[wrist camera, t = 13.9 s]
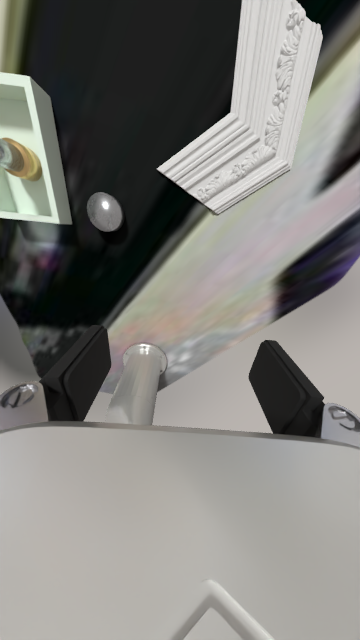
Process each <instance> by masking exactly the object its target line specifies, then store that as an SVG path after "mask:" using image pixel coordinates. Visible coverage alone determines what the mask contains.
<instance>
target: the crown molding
mask: <svg viewBox="0 0 360 640" xmlns="http://www.w3.org/2000/svg"><path fill="white" fill-rule="evenodd" d="M305 14H306V12H305V10H304V9H303V8H302V6H301V5H300V4H298V3H297V1H296V0H242V6H241V15H240V25H239V35H238V45H237V54H236V64H235V74H234V84H233V93H232V103H231V113H229V114H228V115H227V116H226V117H224V118H223V119H222V120H220V121H219V122H218V123H216V124H215V125H214V126H212V127H211V128H210V129H208V130H207V131H206V132H205V133H203V134H202V135H201V136H199V137H198V138H197V139H195V140H194V141H193V142H191V143H190V144H189V145H188V146H186V147H185V148H184V149H182V150H181V151H180V152H178V153H177V154H176V155H174V156H173V157H172V158H170V159H169V160H168V161H167V162H165V163H164V164H163V165H161V166H160V167H159V168H157V170H158V171H160V172H161V173H162V174H164V175H165V176H166V177H168V178H169V179H170V180H172V181H173V182H175V183H176V184H177V185H179V186H180V187H181V188H183V189H184V190H185V191H187V192H188V193H189V194H191V195H192V196H194V197H195V198H196V199H198V200H199V201H200V202H202V203H203V204H204V205H206V206H207V207H208V208H210V209H211V210H213V211H214V212H215V213H217V214H219V213H220V212H222V211H224V210H225V209H227V208H228V207H230V206H232V205H233V204H235V203H236V202H238V201H240V200H241V199H243V198H244V197H246V196H248V195H249V194H251V193H252V192H254V191H256V190H257V189H259V188H260V187H262V186H264V185H265V184H267V183H268V182H270V181H272V180H273V179H275V178H276V177H278V176H280V175H281V174H283V173H284V172H286V171H288V170H289V169H291V166H292V162H293V158H294V154H295V150H296V146H297V142H298V137H299V133H300V129H301V125H302V121H303V117H304V113H305V109H306V104H307V100H308V96H309V92H310V88H311V84H312V80H313V76H314V72H315V67H316V63H317V59H318V55H319V51H320V47H321V43H322V39H323V35H322V31H321V30H320V28H321V27H320V24H319V23H318V24H317V25H316V23H315V22H311V21H310V20H309V19H308V18H307V17H306V16H305Z"/></svg>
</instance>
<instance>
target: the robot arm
mask: <svg viewBox="0 0 360 640" xmlns="http://www.w3.org/2000/svg"><path fill="white" fill-rule="evenodd" d="M123 364H124V366H125V368H124V370H123V373H122V375H121V378H120V380H119V382H118V385H117V387H116V389H115V392H114V394H113V397H112V399H111V402H110V404H109V406H108V409H107V412H106V420H105V421H106V423H102V422H83V420H84V419H85V417H86V415H87V413H88V411H89V409H90V407H91V405H92V403H93V401H94V399H95V397H96V396H97V394H98V392H99V390H100V388H101V386H102V384H103V382H104V380H105V378H106V376H107V374H108V372H109V370H110V368H111V358H110V349H109V341H108V333H107V329H104V326H98V325H92V326H91V327H90V328H89V329H88V330H87V331H86V332H85V333H84V334H83V335H82V337H81V338H80V339H79V340H78V341H77V342H76V343H75V344H74V345H73V346H72V347H71V348H70V349H69V350H68V351H67V352H66V354H65V355H64V356H63V357H62V358H61V359H60V360H59V361H58V362H57V363H56V364H55V365H54V366H53V367H52V368H51V369H50V371H49V372H48V373H47V374H46V375H45V376H44V377H43V378H42V379H41V380H40V381H39V382H36V381H27V382H23V383H20V384H17V385H15V386H12V387H11V388H9V389H7V390H6V391H5V392H3V393H2V394H1V395H0V640H360V418H359V417H358V416H357V415H355V414H354V413H353V412H351V411H350V410H348V409H347V408H345V407H343V406H341V405H338V404H334V403H327V404H324V403H323V402H322V400H323V399H324V397H323V396H322V394H321V393H320V392H319V391H318V390H317V388H316V387H315V386H314V385H313V384H312V383H311V381H310V380H309V379H308V378H307V377H306V375H305V374H304V373H303V372H302V371H301V370H300V368H299V367H298V366H297V365H296V364H295V363H294V361H293V360H292V359H291V358H290V357H289V356H288V354H287V353H286V352H285V351H284V350H283V349H282V347H281V346H280V345H279V344H278V342H276V341H272V340H265V341H264V342H262V343H261V344H260V347H259V349H258V352H257V355H256V357H255V360H254V362H253V365H252V368H251V370H250V373H249V381H250V383H251V385H252V387H253V389H254V392H255V394H256V396H257V398H258V401H259V403H260V405H261V407H262V409H263V412H264V414H265V416H266V418H267V421H268V423H269V425H270V427H271V430H272V432H273V434H271V433H257V432H242V431H229V430H215V429H200V428H185V427H170V426H154V425H152V422H153V415H154V408H155V402H156V395H157V389H158V382H159V376H160V375H161V374H162V373H163V372H164V370H165V369H166V365H167V358H166V356H165V354H164V352H163V351H162V350H161V349H160V348H158V347H157V346H154V345H152V344H148V343H138V344H135V345H132V346H131V347H129V348H128V349H127V350H126V352H125V353H124V356H123Z"/></svg>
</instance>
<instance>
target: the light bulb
mask: <svg viewBox="0 0 360 640" xmlns="http://www.w3.org/2000/svg"><path fill="white" fill-rule="evenodd" d="M0 167H3V168H4V169H5V170H6V171H7V172H9V173H10V174H11V175H14V176H16V177H19V178H22V179H26V180H29V181H37V180H39V179H40V178H41V176H42V166H41V162H40V160H39V158H38V156H37V155H36V154H35V153H34V152H33V151H32V150H31V149H30V148H28V147H26V146H24V145H22V144H20V143H18V142H16V141H15V140H13V139H11V138H2V139H1V138H0Z"/></svg>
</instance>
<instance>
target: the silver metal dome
mask: <svg viewBox="0 0 360 640" xmlns="http://www.w3.org/2000/svg"><path fill="white" fill-rule="evenodd" d="M87 212H88V216H89V218H90V220H91V222H92V223H93V225H94V226H95V227H97V228H98V229H100V230H102V231H107V232H110V231H117V230H119V229H120V228H121V227H122V226H123V224H124V221H125V212H124V209H123V207H122V205H121V203H120V202H119V201H118V200H117V199H116V198H114V197H113V196H111V195H108V194H106V193H102V192H99V193H95V194H93V195H92V196H91V197H90V199H89V201H88V204H87Z"/></svg>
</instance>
